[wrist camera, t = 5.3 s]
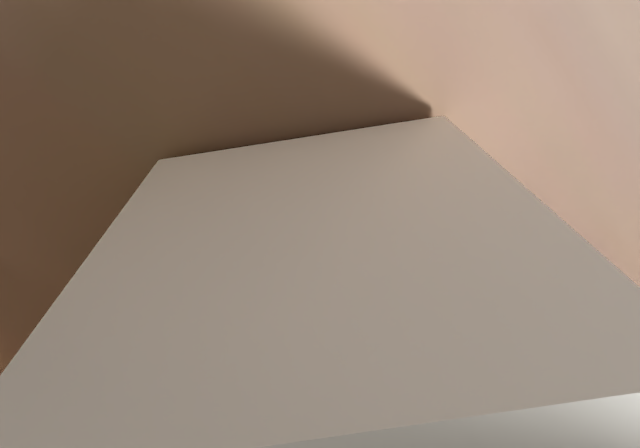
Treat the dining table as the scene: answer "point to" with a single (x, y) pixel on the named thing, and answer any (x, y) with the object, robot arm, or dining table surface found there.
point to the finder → (334, 309)
